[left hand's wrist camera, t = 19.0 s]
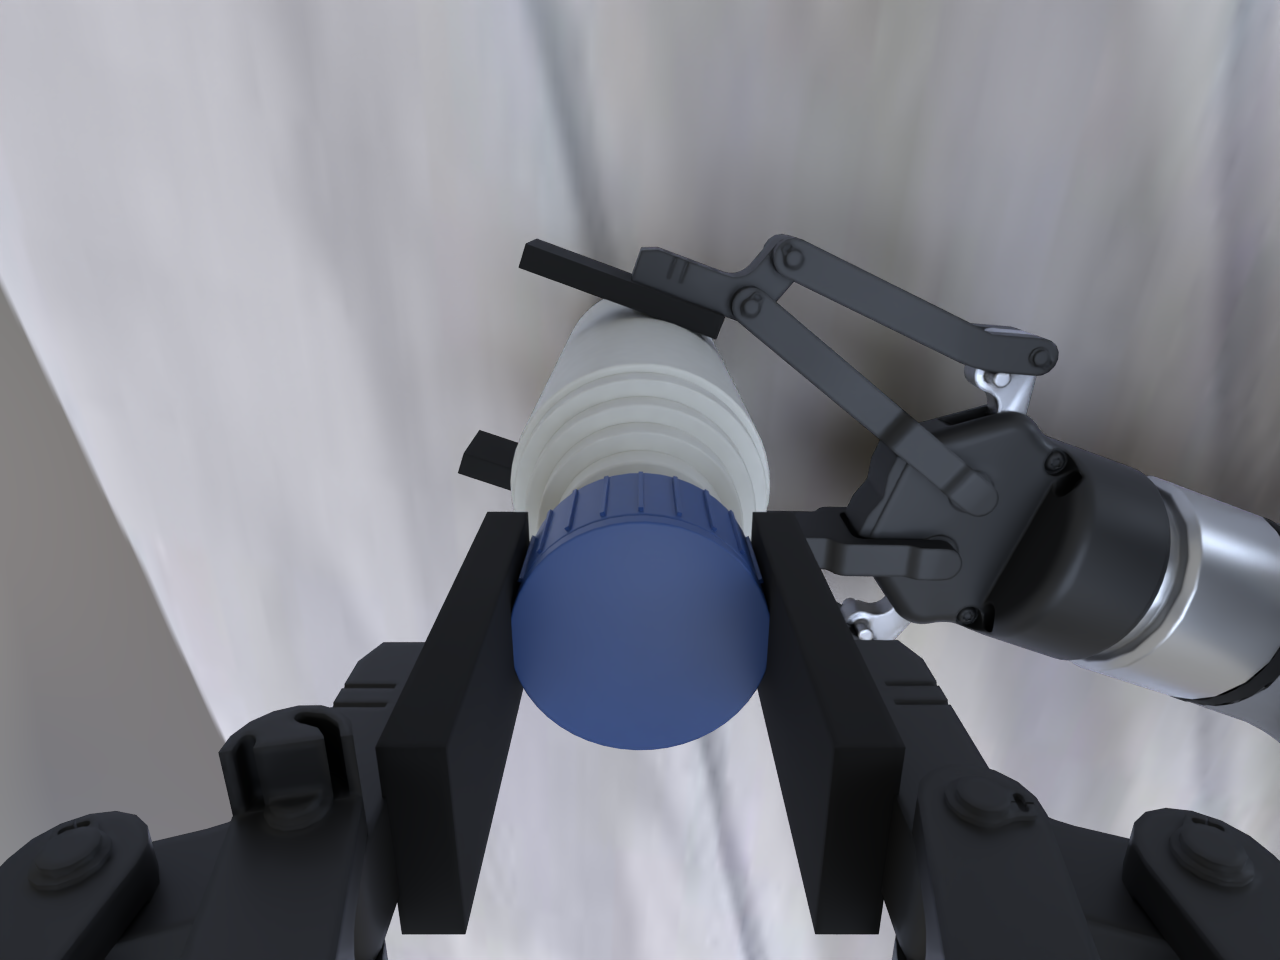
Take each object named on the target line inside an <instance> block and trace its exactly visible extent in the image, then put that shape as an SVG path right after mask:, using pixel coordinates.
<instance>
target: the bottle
mask: <svg viewBox="0 0 1280 960" xmlns="http://www.w3.org/2000/svg"><path fill="white" fill-rule="evenodd" d="M638 472H643V473H651V474H661V475H665V476H670V477H673V476H676V477H678V479H680V480H683V481H686V482H688V483H691V484H693V485H695V486H697V487H699V488H701V489H702V490H705V489H706V490H708V491H709V494H710V495H711V496H713V497H714V498H716V499H717V500H718V501H719V502H720V503H721V504H722V505H723V506H724V507H726V508H727V510H728V511H730V510H732V511H733V513H734V516H735V519H736V521H737V522H738V524H739V526H740V527H741V529H742V530H743V532H744V535H745V537H747V536H749V538H750V541H751V531H752V513H753V512H767V507H768V503H769V494H770V473H769V465H768V461H767V456H766V452H765V449H764V446H763V443H762V441H761V438H760V436H759V434H758V432H757V430H756V428H755V426H754V424H753V422H752V419H751V417H750V415H749V413H748V411H747V409H746V407H745V405H744V403H743V401H742V399H741V397H740V395H739V393H738V391H737V389H736V387H735V385H734V383H733V381H732V379H731V377H730V375H729V373H728V371H727V369H726V367H725V365H724V362H723V360H722V358H721V356H720V354H719V352H718V350H717V348H716V346H715V344H714V342H713V340H712V338H710V337H707V336H705V335H702V334H699V333H696V332H694V331H691V330H688V329H685V328H683V327H680V326H677V325H675V324H672V323H669V322H666V321H664V320H661V319H658V318H655V317H653V316H650V315H647V314H644V313H642V312H639V311H636V310H633V309H631V308H628V307H625V306H622V305H620V304H617V303H614V302H611V301H609V300H606V299H603V300H601V301H599V302H598V303H596V304H595V305H594V306H592V307H591V308H590V309H589V310H588V311H587V312H586V313H585V314H584V315H583V316H582V317H581V319H580V320H579V321H578V323H577V324H576V326H575V328H574V329H573V331H572V333H571V335H570V337H569V339H568V341H567V343H566V345H565V347H564V349H563V351H562V353H561V355H560V357H559V360H558V362H557V364H556V366H555V368H554V370H553V372H552V374H551V376H550V378H549V380H548V382H547V384H546V386H545V388H544V390H543V392H542V394H541V396H540V398H539V400H538V402H537V404H536V406H535V408H534V411H533V413H532V415H531V417H530V419H529V421H528V423H527V425H526V427H525V429H524V431H523V433H522V435H521V438H520V440H519V443H518V445H517V448H516V451H515V455H514V459H513V463H512V471H511V498H512V504H513V509H514V512H528V519H529V538H530V540H531V537H532V535H533V536H536V534H537V532H538V530H539V528H540V527H541V525H542V523H543V522H544V520H545V519H546V516H547V513H548V511H549V510H550V509H551V510H553V509H554V508H555V507H556V506H557V505H558V504H559V503H560V502H561V501H563V500H564V499H565V498H567V497H568V496H569V495H571V494H572V492H573V490H575V489H577V490H579V489H580V488H582V487H584V486H586V485H588V484H590V483H593V482H595V481H597V480H600V479H604V476H609V477H611V476H615V475H622V474H628V473H638Z"/></svg>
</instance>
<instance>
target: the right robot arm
mask: <svg viewBox="0 0 1280 960" xmlns="http://www.w3.org/2000/svg"><path fill="white" fill-rule="evenodd" d="M519 268H521V269H524V270H526V271H529V272H532V273H535V274H537V275H540V276H543V277H546V278H548V279H551V280H554V281H557V282H559V283H562V284H565V285H568V286H570V287H573V288H576V289H579V290H581V291H584V292H587V293H589V294H592V295H595V296H598V297H600V298H603V299H606V300H609V301H611V302H614V303H617V304H620V305H622V306H625V307H628V308H631V309H633V310H636V311H639V312H642V313H644V314H647V315H650V316H653V317H655V318H658V319H661V320H664V321H666V322H669V323H672V324H675V325H677V326H680V327H683V328H685V329H688V330H691V331H694V332H696V333H699V334H702V335H705V336H707V337H710V338H713V339H717V336H718V334H719V331H720V328H721V326H722V323H723V321H724V318H725V317H728V318H731V319H734V320H736V321H738V322H739V323H740V324H741V325H743V326H744V327H745V328H746V329H747V330H749V331H750V332H751V333H752V334H753V335H755V336H756V337H757V338H758V339H759V340H761V341H762V342H763V343H764V344H765V345H767V346H768V347H769V348H770V349H771V350H773V351H774V352H775V353H776V354H777V355H779V356H780V357H781V358H782V359H783V360H785V361H786V362H787V363H788V364H790V365H791V366H792V367H793V368H794V369H796V370H797V371H798V372H799V373H800V374H802V375H803V376H804V377H805V378H806V379H808V380H809V381H810V382H811V383H812V384H814V385H815V386H816V387H817V388H818V389H820V390H821V391H822V392H823V393H824V394H826V395H827V396H828V397H829V398H830V399H832V400H833V401H834V402H835V403H837V404H838V405H839V406H840V407H841V408H843V409H844V410H845V411H846V412H847V413H849V414H850V415H851V416H852V417H853V418H855V419H856V420H857V421H858V422H859V423H861V424H862V425H863V426H864V427H865V428H867V429H868V430H869V431H870V432H871V433H873V434H874V435H875V436H876V437H877V438H879V439H880V441H879V443H878V445H877V447H876V449H875V451H874V453H873V455H872V458H871V463H870V468H869V473H868V477H867V479H866V481H865V482H864V483H863V484H862V485H861V486H860V488H859V489H858V490H857V491H856V492H855V494H854V495H853V496H852V498H851V500H850V503H849V505H848V507H822V508H819V509H818V510H816V511H812V512H806V511H767V512H793V513H794V515H795V517H796V519H797V521H798V523H799V525H800V527H801V529H802V531H803V533H804V536H805V538H806V540H807V542H808V544H809V546H810V548H811V550H812V552H813V554H814V556H815V559H816V561H817V563H818V565H819V567H820V569H825V570H829V571H831V572H833V573H834V574H838V575H842V576H873V577H874V579H875V580H876V582H877V583H878V585H879V587H880V588H881V590H882V591H883V593H884V594H885V597H884V598H882V599H881V600H879V601H877V602H874V603H866V602H863V601H860V600H855V599H853V598H847V599H845V600H844V601H843V603H842V605H841V604H839V603H838V602H836V603H837V605H838V607H839V609H840V611H841V613H842V615H843V617H844V619H845V621H846V623H847V626H848V628H849V630H850V632H851V634H852V636H853V638H854V640H895V639H896V638H897V636H898V635H899V634H900V633H901V632H902V631H903V630H904V629H905V628H906V627H907V626H908V625H909V624H910V623H911V622H912V623H917V624H927V623H934V622H952V623H956V624H959V625H961V626H964V627H966V628H968V629H971V630H973V631H976V632H978V633H981V634H983V635H986V636H989V637H992V638H995V639H998V640H1001V641H1004V642H1007V643H1011V644H1014V645H1017V646H1020V647H1023V648H1026V649H1029V650H1032V651H1035V652H1038V653H1041V654H1044V655H1047V656H1050V657H1053V658H1057V659H1060V660H1069V661H1071V662H1072V663H1074V664H1076V665H1077V666H1079V667H1081V668H1085V669H1088V670H1091V671H1094V672H1097V673H1100V674H1104V675H1107V676H1110V677H1113V678H1116V679H1119V680H1122V681H1126V682H1129V683H1132V684H1135V685H1138V686H1141V687H1145V688H1148V689H1151V690H1154V691H1157V692H1160V693H1163V694H1167V695H1169V696H1171V697H1174V698H1177V699H1180V700H1183V701H1188V702H1191V703H1194V704H1197V705H1200V706H1203V707H1206V708H1208V709H1211V710H1214V711H1217V712H1220V713H1223V714H1226V715H1228V716H1231V717H1234V718H1237V719H1240V720H1243V721H1245V722H1248V723H1250V724H1251V725H1253V726H1255V727H1257V728H1259V729H1261V730H1263V731H1264V732H1266V733H1267V734H1269V735H1270V736H1272V737H1273V738H1274V739H1276V740H1277V741H1278V742H1279V743H1280V524H1277V523H1275V522H1273V521H1271V520H1269V519H1267V518H1264V517H1261V516H1259V515H1256V514H1254V513H1251V512H1249V511H1246V510H1243V509H1240V508H1238V507H1235V506H1232V505H1230V504H1227V503H1224V502H1222V501H1219V500H1216V499H1214V498H1211V497H1208V496H1206V495H1203V494H1200V493H1198V492H1195V491H1193V490H1190V489H1187V488H1185V487H1182V486H1179V485H1177V484H1174V483H1171V482H1169V481H1166V480H1163V479H1160V478H1157V477H1155V476H1146V475H1144V474H1143V473H1142V472H1140V471H1139V470H1136V469H1134V468H1132V467H1129V466H1127V465H1124V464H1121V463H1119V462H1116V461H1113V460H1110V459H1108V458H1105V457H1102V456H1100V455H1097V454H1094V453H1091V452H1089V451H1086V450H1083V449H1081V448H1078V447H1075V446H1072V445H1070V444H1067V443H1064V442H1061V441H1059V440H1056V439H1053V438H1051V437H1048V436H1046V435H1044V434H1043V433H1042V432H1041V431H1040V429H1039V428H1038V426H1037V425H1036V423H1035V422H1034V421H1033V420H1032V419H1031V418H1030V417H1028V416H1027V415H1026V413H1027V409H1028V406H1029V402H1030V398H1031V394H1032V391H1033V387H1034V383H1035V379H1036V376H1039V375H1044V374H1046V373H1048V372H1049V371H1050V370H1051V369H1052V368H1053V367H1054V366H1055V365H1056V362H1057V360H1058V353H1059V352H1058V349H1057V346H1056V345H1055V344H1054V343H1053V342H1052V341H1050V340H1047V339H1045V338H1042V337H1039V336H1037V335H1034V334H1031V333H1029V332H1026V331H1022V330H1020V329H1017V328H1014V327H1009V326H997V325H985V324H974V323H969V322H967V321H965V320H963V319H961V318H959V317H957V316H955V315H953V314H951V313H949V312H947V311H945V310H943V309H941V308H939V307H937V306H935V305H933V304H931V303H929V302H927V301H925V300H923V299H921V298H919V297H917V296H915V295H913V294H911V293H909V292H907V291H905V290H903V289H901V288H899V287H897V286H895V285H893V284H891V283H889V282H887V281H885V280H883V279H881V278H879V277H877V276H874V275H872V274H870V273H868V272H866V271H864V270H862V269H860V268H858V267H856V266H854V265H852V264H850V263H848V262H846V261H844V260H842V259H840V258H838V257H836V256H834V255H832V254H830V253H828V252H826V251H824V250H822V249H820V248H818V247H816V246H814V245H812V244H810V243H808V242H806V241H804V240H802V239H798V238H796V237H792V236H789V235H784V234H779V235H774V236H773V237H771V238H770V239H768V241H767V242H766V243H765V245H764V248H763V250H762V251H761V252H760V253H759V254H758V256H757V257H756V258H755V259H754V260H753V261H752V263H751V264H750V265H749V266H748V267H747V268H745V269H744V270H742V271H739V272H736V273H727V272H723V271H720V270H718V269H715V268H712V267H710V266H707V265H704V264H702V263H699V262H696V261H694V260H691V259H688V258H686V257H683V256H680V255H678V254H675V253H672V252H670V251H667V250H664V249H662V248H659V247H642V248H641V250H640V252H639V255H638V258H637V261H636V264H635V267H634V270H633V273H632V274H631V273H628V272H626V271H623V270H620V269H617V268H615V267H612V266H609V265H607V264H604V263H601V262H599V261H596V260H593V259H590V258H588V257H585V256H582V255H580V254H577V253H574V252H572V251H569V250H566V249H563V248H561V247H558V246H555V245H553V244H550V243H547V242H545V241H542V240H539V239H535V240H533V241H530V242H528V243H526V244H525V248H524V251H523V255H522V258H521V261H520V265H519ZM793 282H796V283H798V284H800V285H802V286H804V287H806V288H808V289H810V290H812V291H814V292H816V293H818V294H820V295H823V296H825V297H827V298H829V299H831V300H833V301H835V302H837V303H839V304H841V305H843V306H845V307H847V308H849V309H851V310H853V311H855V312H857V313H859V314H861V315H863V316H865V317H868V318H870V319H872V320H874V321H876V322H878V323H880V324H882V325H884V326H886V327H888V328H890V329H892V330H894V331H896V332H898V333H900V334H902V335H904V336H906V337H908V338H911V339H913V340H915V341H917V342H919V343H921V344H923V345H925V346H927V347H929V348H931V349H933V350H935V351H937V352H939V353H941V354H943V355H945V356H947V357H949V358H951V359H954V360H956V361H958V362H960V363H962V364H965V368H964V374H965V377H966V379H967V381H968V382H970V383H971V384H972V385H974V386H976V387H978V388H979V389H981V390H983V391H985V393H986V395H987V405H983V406H979V407H976V408H972V409H968V410H965V411H961V412H957V413H954V414H950V415H946V416H942V417H939V418H935V419H931V420H928V421H924V422H920V423H918V422H917V421H916V420H914V419H913V418H912V417H911V416H910V415H909V414H907V413H906V412H905V411H904V410H903V409H901V408H900V407H899V406H898V405H897V404H896V403H894V402H893V401H892V400H891V399H890V398H888V397H887V396H886V395H885V394H884V393H883V392H881V391H880V390H879V389H878V388H877V387H876V386H874V385H873V384H872V383H871V382H870V381H868V380H867V379H866V378H865V377H864V376H863V375H861V374H860V373H859V372H858V371H857V370H855V369H854V368H853V367H852V366H851V365H850V364H848V363H847V362H846V361H845V360H844V359H843V358H841V357H840V356H839V355H838V354H837V353H835V352H834V351H833V350H832V349H831V348H830V347H828V346H827V345H826V344H825V343H824V342H823V341H821V340H820V339H819V338H818V337H817V336H815V335H814V334H813V333H812V332H811V331H810V330H808V329H807V328H806V327H805V326H804V325H802V324H801V323H800V322H799V321H798V320H797V319H795V318H794V317H793V316H792V315H791V314H790V313H788V312H787V311H786V310H785V309H784V308H782V307H781V306H780V305H779V304H778V303H777V302H776V301H777V300H778V299H779V298H780V297H781V296H782V295H783V293H784V292H785V291H786V290H787V289H788V288H789V287H790V286H791V284H792V283H793ZM517 445H518V443H517V442H514V441H511V440H508V439H505V438H502V437H499V436H496V435H493V434H490V433H487V432H484V431H481V430H479V432H478V433H477V434H476V436H475V437H474V439H473V440H472V442H471V443H470V445H469V446H468V448H467V449H466V451H465V452H464V454H463V458H462V461H461V464H460V468H459V471H458V473H459V474H462V475H465V476H468V477H471V478H474V479H477V480H480V481H483V482H486V483H489V484H492V485H495V486H498V487H502V488H505V489H508V490H511V471H512V463H513V459H514V455H515V451H516V448H517Z"/></svg>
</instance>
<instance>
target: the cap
mask: <svg viewBox="0 0 1280 960" xmlns="http://www.w3.org/2000/svg"><path fill="white" fill-rule="evenodd" d="M518 582H520V585H519V588H518V591H517V595H516V598H515V601H514V604H513V608H512V613H511V625H512V641H513V656H514V669H515V671H516V674H517V676H518V679H519V681H520V683H521V684H522V686H523V688H524V689H525V691H526V693H527V695H528V696H529V697H530V698H531V700H532V701H533V702H534V703H535V705H536V706H537V707H538V708H539V709H540V710H541V711H542V712H543V713H544V714H545V715H546V716H547V717H548V718H550V719H551V720H552V721H554V722H555V723H556V724H558V725H559V726H560V727H562V728H564V729H565V730H567V731H569V732H570V733H572V734H574V735H576V736H578V737H581V738H583V739H585V740H588V741H590V742H594V743H597V744H600V745H603V746H608V747H613V748H618V749H629V750H654V749H661V748H668V747H673V746H677V745H681V744H684V743H687V742H690V741H693V740H696V739H698V738H700V737H702V736H704V735H706V734H708V733H710V732H712V731H714V730H716V729H717V728H719V727H720V726H722V725H723V724H725V723H726V722H727V721H729V720H730V719H731V718H732V717H733V716H735V715H736V714H737V713H738V712H739V711H740V710H741V709H742V708H743V707H744V705H745V704H746V703H747V702H748V701H749V700H750V698H751V697H752V695H753V694H754V692H755V691H756V690H757V688H758V686H759V684H760V682H761V680H762V678H763V676H764V674H765V671H766V665H767V650H768V635H769V619H770V613H769V609H768V605H767V602H766V599H765V595H764V592H763V589H762V586H761V583H763V582H764V581H763V578H762V575H761V572H760V569H759V566H758V562H757V559H756V556H755V553H754V550H753V547H752V544H751V541H750V538H749V536H747V537H745V535H744V532H743V530H742V529H741V527H740V526H739V524H738V522H737V521H736V519H735V516H734V513H733V511H732V510H730V511H728V510H727V508H726V507H724V506H723V505H722V504H721V503H720V502H719V501H718V500H717V499H716V498H714V497H713V496H711V495H710V494H709V491H708V490H706V489H705V490H702V489H701V488H699V487H697V486H695V485H693V484H691V483H688V482H686V481H683V480H680V479H678V477H676V476H673V477H670V476H665V475H661V474H651V473H643V472H638V473H628V474H622V475H615V476H611V477H609V476H604V479H600V480H597V481H595V482H593V483H590V484H588V485H586V486H584V487H582V488H580V489H579V490H577V489H575V490H573V492H572V494H571V495H569V496H568V497H567V498H565V499H564V500H563V501H561V502H560V503H559V504H558V505H557V506H556V507H555V508H554V509H553V510H551V509H550V510H549V511H548V513H547V516H546V519H545V520H544V522H543V523H542V525H541V527H540V528H539V530H538V532H537V534H536V536H533V535H532V537H531V540H530V543H529V546H528V549H527V553H526V556H525V559H524V562H523V565H522V568H521V572H520V575H519V578H518Z"/></svg>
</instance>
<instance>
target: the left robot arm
mask: <svg viewBox="0 0 1280 960" xmlns="http://www.w3.org/2000/svg"><path fill="white" fill-rule="evenodd" d="M529 543H530V538H529V519H528V512H487V514H486V516H485V518H484V520H483V522H482V524H481V526H480V529H479V531H478V533H477V535H476V537H475V539H474V541H473V543H472V545H471V547H470V550H469V552H468V554H467V556H466V558H465V560H464V562H463V564H462V566H461V568H460V570H459V573H458V575H457V577H456V579H455V581H454V583H453V585H452V587H451V589H450V591H449V593H448V596H447V598H446V600H445V602H444V604H443V606H442V608H441V610H440V612H439V614H438V617H437V619H436V621H435V623H434V625H433V627H432V629H431V631H430V633H429V635H428V637H427V640H426V642H383V643H382V644H380V645H379V646H378V647H377V648H375V649H374V650H373V651H371V652H370V653H369V654H367V655H366V656H365V657H363V658H362V659H361V660H360V661H358V663H357V664H356V666H355V668H354V669H353V671H352V673H351V674H350V676H349V678H348V679H347V681H346V683H345V687H344V688H342V689H341V691H340V693H339V694H338V696H337V697H336V699H335V701H334V702H333V704H334V705H333V707H330V708H329V707H326V706H322V705H307V706H295V707H290V708H286V709H282V710H277V711H273V712H271V713H269V714H266V715H264V716H262V717H260V718H257V719H255V720H253V721H251V722H249V723H248V724H246V725H245V726H244V727H242V728H241V729H240V730H238V731H237V732H235V733H234V734H233V735H231V736H230V737H229V739H228V740H227V742H226V743H225V744H224V746H223V747H222V748H221V750H220V751H219V757H220V761H221V766H222V770H223V774H224V779H225V783H226V787H227V792H228V796H229V800H230V805H231V809H232V814H233V817H232V820H231V821H230V822H228V823H225V824H221V825H218V826H215V827H211V828H208V829H204V830H200V831H196V832H192V833H188V834H183V835H179V836H175V837H171V838H166V839H162V840H158V841H153V842H152V840H151V837H150V833H149V830H148V826H147V825H146V824H145V823H144V822H143V821H142V820H141V819H140V818H139V817H138V816H137V815H133V814H128V813H123V812H118V811H112V812H103V813H95V814H89V815H86V816H83V817H80V818H77V819H74V820H71V821H68V822H65V823H62V824H59V825H58V826H56V827H54V828H52V829H50V830H48V831H47V832H45V833H43V834H41V835H39V836H37V837H35V838H33V839H32V840H31V841H29V842H28V843H27V844H26V845H24V846H23V847H22V848H21V849H19V850H18V851H17V852H16V853H15V854H13V855H12V856H11V857H10V858H8V859H7V860H6V861H5V862H4V863H3V864H2V865H1V866H0V960H388V957H387V950H386V944H385V936H386V933H387V931H388V928H389V925H390V922H391V919H392V916H393V913H394V910H395V907H396V904H397V903H398V910H399V917H400V924H401V931H402V934H466V930H467V925H468V921H469V917H470V913H471V908H472V904H473V900H474V896H475V891H476V887H477V883H478V879H479V874H480V870H481V866H482V862H483V857H484V853H485V849H486V845H487V840H488V836H489V832H490V828H491V823H492V819H493V815H494V811H495V806H496V802H497V798H498V794H499V789H500V785H501V781H502V777H503V772H504V768H505V764H506V760H507V755H508V751H509V747H510V743H511V738H512V734H513V730H514V726H515V721H516V717H517V713H518V709H519V704H520V700H521V696H522V692H523V686H522V684H521V683H520V681H519V679H518V676H517V674H516V671H515V669H514V656H513V641H512V625H511V613H512V608H513V604H514V601H515V598H516V595H517V591H518V588H519V585H520V582H518V578H519V575H520V572H521V568H522V565H523V562H524V559H525V556H526V553H527V549H528V546H529ZM751 544H752V547H753V550H754V553H755V556H756V559H757V562H758V566H759V569H760V572H761V575H762V578H763V581H764V582H763V583H761V586H762V589H763V592H764V595H765V599H766V602H767V605H768V609H769V613H770V619H769V635H768V650H767V665H766V671H765V674H764V676H763V678H762V680H761V682H760V684H759V686H758V688H757V689H758V693H759V697H760V702H761V706H762V710H763V714H764V719H765V723H766V727H767V731H768V736H769V740H770V744H771V748H772V753H773V757H774V761H775V765H776V770H777V774H778V778H779V782H780V787H781V791H782V795H783V799H784V804H785V808H786V812H787V816H788V821H789V825H790V829H791V833H792V838H793V842H794V846H795V850H796V855H797V859H798V863H799V867H800V872H801V876H802V880H803V884H804V889H805V893H806V897H807V901H808V906H809V910H810V914H811V918H812V923H813V927H814V931H815V934H879V929H880V922H881V915H882V908H883V901H885V904H886V907H887V910H888V913H889V916H890V919H891V922H892V925H893V928H894V930H895V933H896V937H895V944H894V950H893V957H892V960H1280V861H1279V860H1278V859H1277V858H1276V857H1275V856H1274V855H1273V854H1272V853H1270V852H1269V851H1268V850H1267V849H1265V848H1264V847H1263V846H1262V845H1260V844H1259V843H1258V842H1257V841H1255V840H1254V839H1253V838H1252V837H1250V836H1249V835H1247V834H1245V833H1243V832H1241V831H1240V830H1238V829H1236V828H1234V827H1232V826H1230V825H1228V824H1227V823H1225V822H1223V821H1221V820H1218V819H1215V818H1212V817H1209V816H1206V815H1203V814H1200V813H1197V812H1194V811H1188V810H1179V809H1171V808H1163V809H1158V810H1153V811H1148V812H1145V813H1144V814H1143V815H1142V816H1141V817H1140V818H1139V819H1138V820H1136V821H1135V822H1134V825H1133V829H1132V833H1131V836H1130V839H1128V838H1124V837H1120V836H1115V835H1111V834H1107V833H1102V832H1098V831H1094V830H1090V829H1085V828H1081V827H1077V826H1073V825H1070V824H1067V823H1063V822H1060V821H1057V820H1054V819H1051V818H1049V817H1048V815H1047V814H1046V812H1045V810H1044V809H1043V807H1042V806H1041V804H1040V803H1039V801H1038V799H1037V798H1036V797H1035V796H1034V795H1033V794H1032V793H1030V792H1029V791H1028V790H1027V789H1026V788H1024V787H1023V786H1022V785H1021V784H1020V783H1018V782H1017V781H1015V780H1013V779H1011V778H1009V777H1007V776H1005V775H1003V774H1001V773H999V772H997V771H995V770H992V769H989V767H988V766H987V764H986V762H985V761H984V759H983V758H982V756H981V754H980V753H979V751H978V749H977V748H976V746H975V744H974V743H973V741H972V739H971V738H970V736H969V734H968V733H967V731H966V729H965V728H964V726H963V724H962V723H961V721H960V720H959V718H958V716H957V715H956V713H955V711H954V710H953V708H952V706H951V705H948V700H947V698H946V696H945V695H944V693H943V691H942V690H941V688H940V686H937V684H936V680H935V678H934V677H933V675H932V673H931V672H930V670H929V668H928V667H927V665H926V663H925V662H924V660H923V659H922V658H921V657H919V656H918V655H917V654H916V653H914V652H913V651H912V650H910V649H909V648H908V647H906V646H905V645H904V644H902V643H901V642H900V641H898V640H854V638H853V636H852V634H851V632H850V630H849V628H848V626H847V623H846V621H845V619H844V617H843V615H842V613H841V611H840V609H839V607H838V605H837V603H836V600H835V598H834V596H833V594H832V592H831V590H830V588H829V586H828V584H827V582H826V579H825V577H824V575H823V573H822V571H821V569H820V567H819V565H818V563H817V561H816V559H815V556H814V554H813V552H812V550H811V548H810V546H809V544H808V542H807V540H806V538H805V536H804V533H803V531H802V529H801V527H800V525H799V523H798V521H797V519H796V517H795V515H794V513H793V512H753V513H752V531H751Z"/></svg>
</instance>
